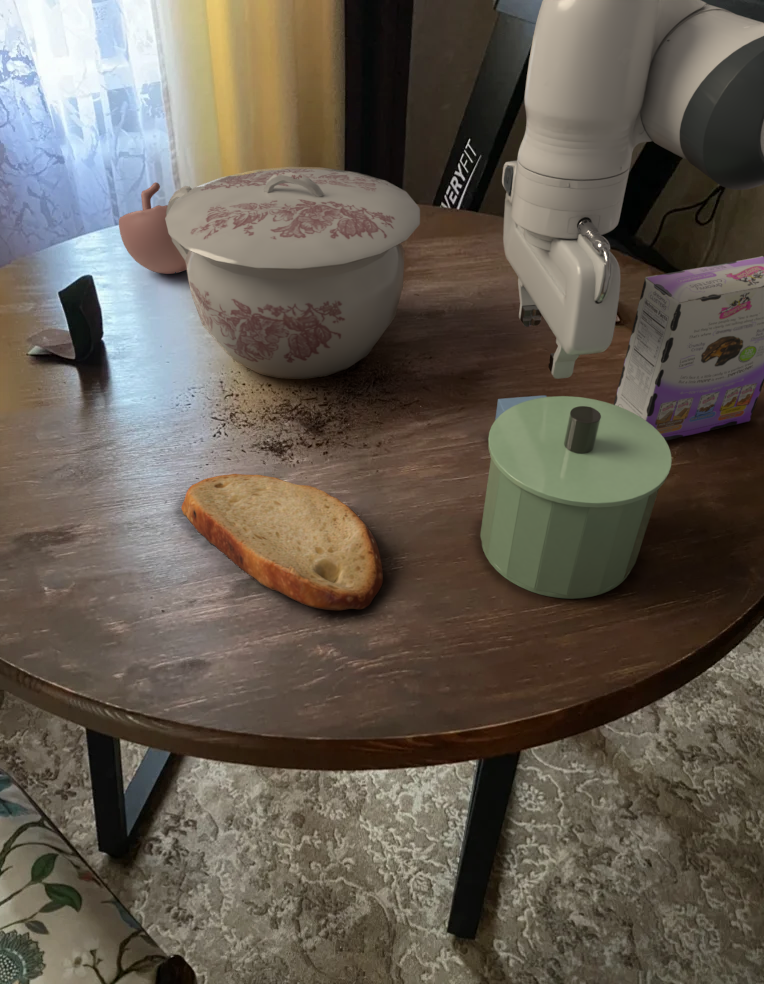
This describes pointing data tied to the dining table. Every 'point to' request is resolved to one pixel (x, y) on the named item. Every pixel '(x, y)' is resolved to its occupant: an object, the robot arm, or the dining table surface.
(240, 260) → the chamber pot
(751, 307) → the candy box
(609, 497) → the pot lid
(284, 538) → the bread slice
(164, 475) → the dining table surface
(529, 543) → the pot
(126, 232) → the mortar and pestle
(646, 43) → the robot arm
